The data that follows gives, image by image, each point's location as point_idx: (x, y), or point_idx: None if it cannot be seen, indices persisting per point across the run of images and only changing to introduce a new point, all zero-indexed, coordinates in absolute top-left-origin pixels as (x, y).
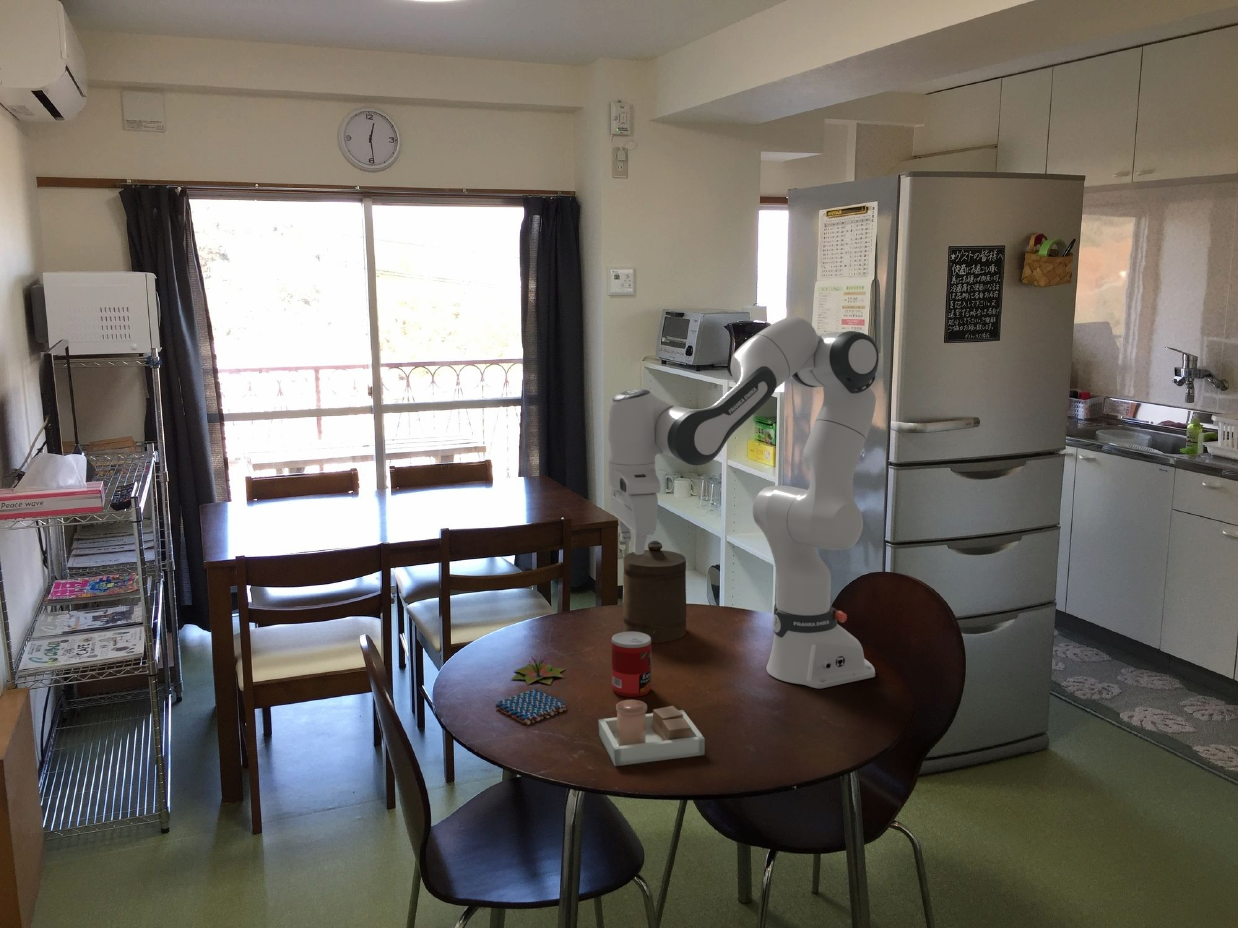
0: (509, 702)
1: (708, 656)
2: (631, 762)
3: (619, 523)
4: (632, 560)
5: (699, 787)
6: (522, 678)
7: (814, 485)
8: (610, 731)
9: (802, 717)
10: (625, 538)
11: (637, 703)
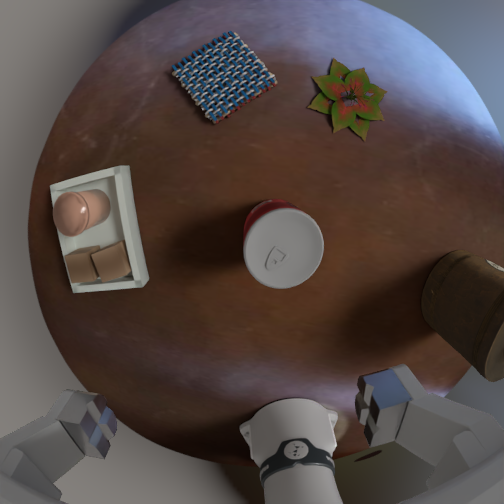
0: (228, 45)
1: (362, 346)
2: None
3: (465, 426)
4: None
5: (32, 264)
6: (335, 73)
7: None
8: (87, 181)
9: (171, 397)
10: (365, 399)
11: (76, 224)
